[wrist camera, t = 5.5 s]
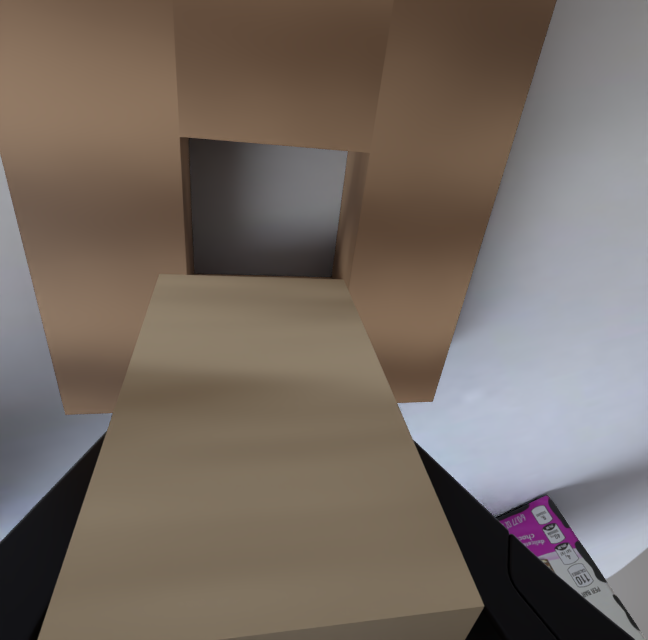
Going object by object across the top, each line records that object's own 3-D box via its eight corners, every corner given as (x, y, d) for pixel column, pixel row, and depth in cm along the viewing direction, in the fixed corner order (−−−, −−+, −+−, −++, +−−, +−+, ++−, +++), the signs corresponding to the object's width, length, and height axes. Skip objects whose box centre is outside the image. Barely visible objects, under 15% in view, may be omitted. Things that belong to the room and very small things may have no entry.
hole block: (411, 363, 24) (432, 401, 21) (85, 369, 21) (65, 414, 18) (507, -2, 16) (559, -11, 13) (-9, -90, 12) (-69, -124, 10)
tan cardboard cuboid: (324, 409, 12) (401, 748, 6) (171, 413, 11) (102, 804, 6) (343, 279, 10) (483, 605, 4) (159, 273, 9) (29, 663, 4)
